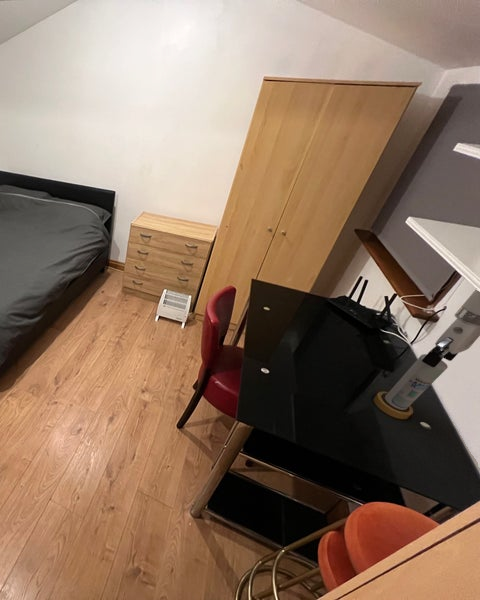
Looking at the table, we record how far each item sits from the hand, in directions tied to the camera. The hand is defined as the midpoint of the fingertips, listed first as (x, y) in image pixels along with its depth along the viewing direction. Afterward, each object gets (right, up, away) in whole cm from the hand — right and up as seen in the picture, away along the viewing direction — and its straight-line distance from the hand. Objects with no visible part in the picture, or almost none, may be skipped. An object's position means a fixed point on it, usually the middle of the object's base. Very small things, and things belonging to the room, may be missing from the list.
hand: (436, 361), depth 102 cm
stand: (-2, -19, +13) cm, 23 cm away
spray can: (-2, -17, +12) cm, 21 cm away
